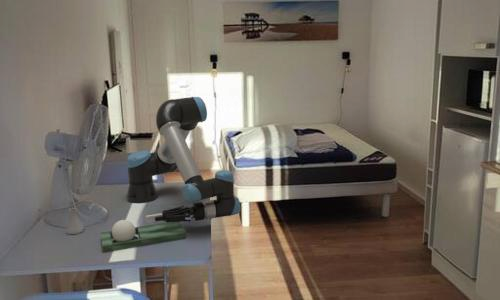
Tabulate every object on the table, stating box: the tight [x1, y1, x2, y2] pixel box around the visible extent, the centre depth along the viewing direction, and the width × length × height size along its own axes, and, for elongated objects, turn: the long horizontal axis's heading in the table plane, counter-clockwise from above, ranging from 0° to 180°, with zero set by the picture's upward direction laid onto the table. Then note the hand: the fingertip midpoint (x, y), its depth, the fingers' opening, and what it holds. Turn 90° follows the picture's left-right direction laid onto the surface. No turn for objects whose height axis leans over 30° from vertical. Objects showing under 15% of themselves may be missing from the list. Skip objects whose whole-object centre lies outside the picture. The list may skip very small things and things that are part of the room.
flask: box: [65, 207, 85, 235], centre depth 201 cm, size 7×7×10 cm
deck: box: [100, 221, 187, 253], centre depth 192 cm, size 14×32×2 cm, turn 109°
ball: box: [111, 219, 136, 242], centre depth 188 cm, size 9×9×9 cm
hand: (146, 219), depth 191 cm, fingers closed
